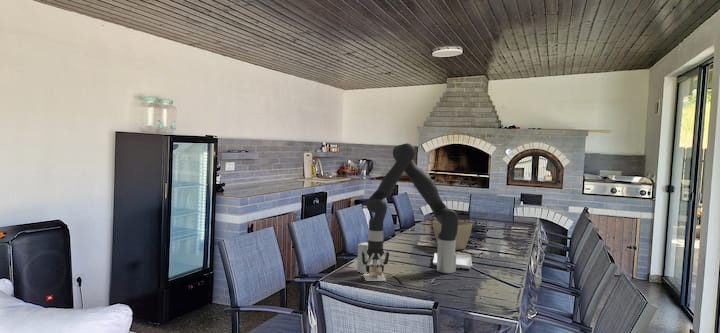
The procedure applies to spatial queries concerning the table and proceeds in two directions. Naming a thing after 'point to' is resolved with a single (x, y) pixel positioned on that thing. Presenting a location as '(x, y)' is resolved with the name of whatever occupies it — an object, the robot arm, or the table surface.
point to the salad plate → (458, 261)
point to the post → (374, 278)
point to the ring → (375, 270)
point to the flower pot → (462, 233)
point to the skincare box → (360, 265)
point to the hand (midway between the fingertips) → (374, 272)
